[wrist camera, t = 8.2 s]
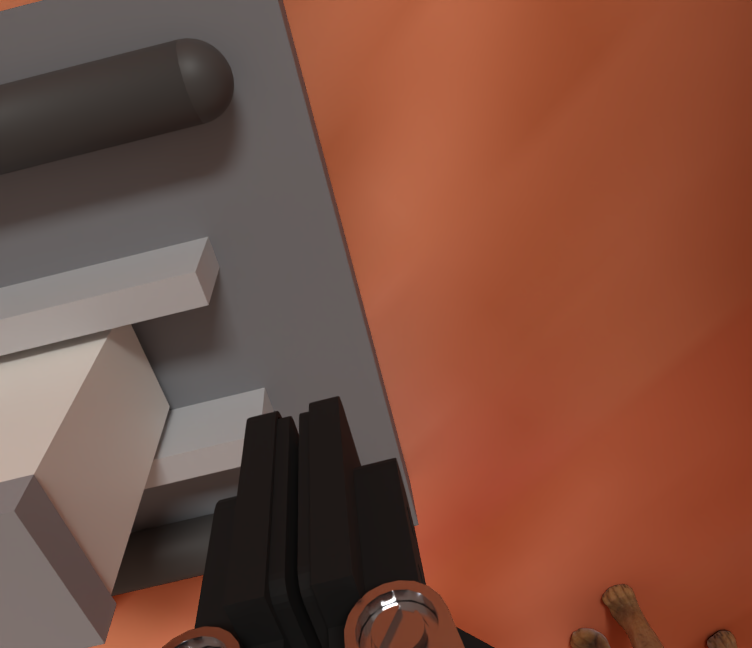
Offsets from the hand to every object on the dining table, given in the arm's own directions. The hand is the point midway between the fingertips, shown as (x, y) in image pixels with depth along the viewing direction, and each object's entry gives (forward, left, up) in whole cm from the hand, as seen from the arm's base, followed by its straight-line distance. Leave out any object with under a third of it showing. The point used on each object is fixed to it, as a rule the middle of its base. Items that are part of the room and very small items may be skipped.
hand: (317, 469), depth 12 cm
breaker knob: (+6, 0, -5) cm, 8 cm away
